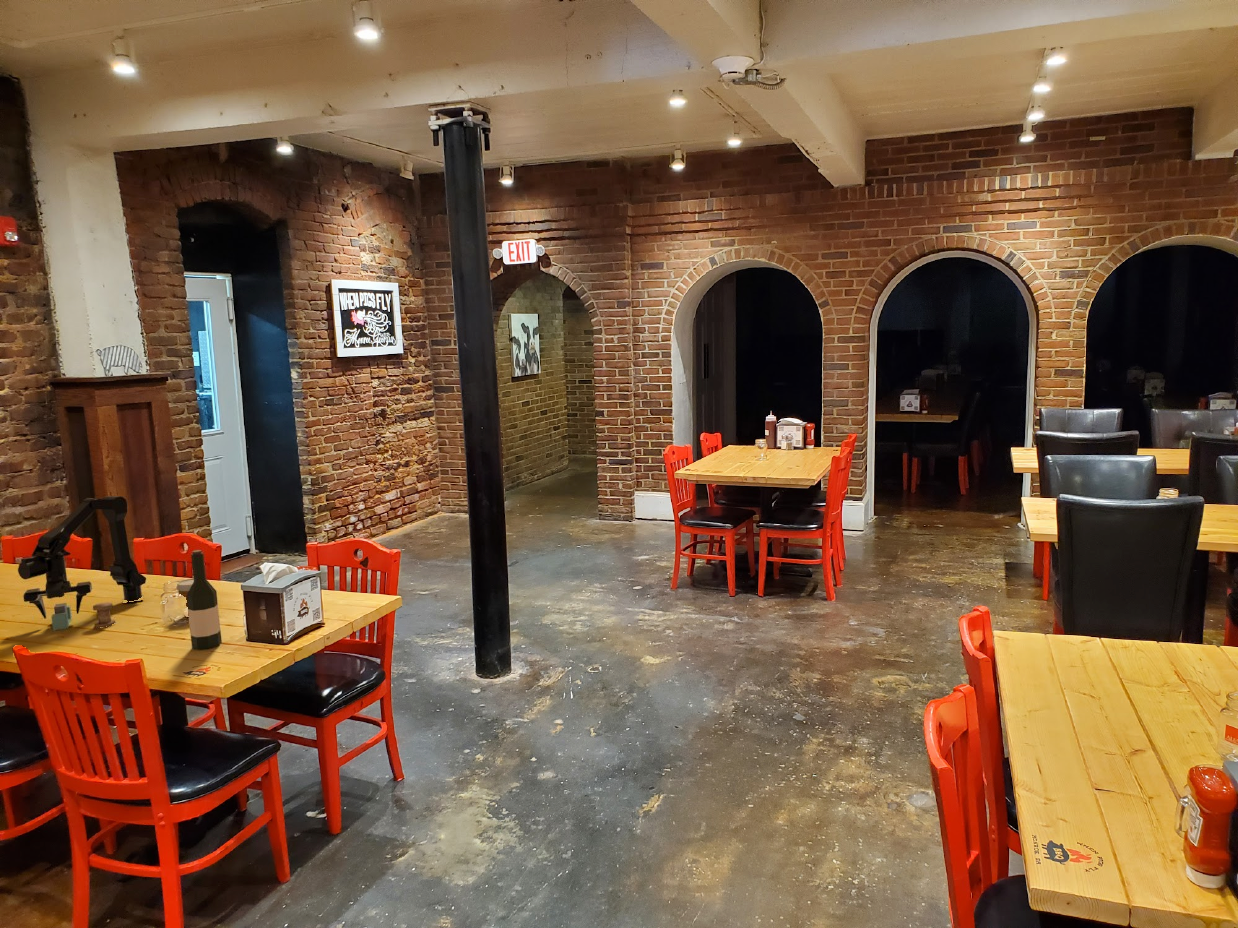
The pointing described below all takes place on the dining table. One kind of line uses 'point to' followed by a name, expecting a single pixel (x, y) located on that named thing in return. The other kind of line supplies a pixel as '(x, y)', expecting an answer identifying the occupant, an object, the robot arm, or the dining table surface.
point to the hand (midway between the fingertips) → (61, 615)
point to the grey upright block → (61, 608)
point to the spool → (103, 614)
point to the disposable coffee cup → (184, 587)
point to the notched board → (61, 619)
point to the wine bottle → (202, 608)
